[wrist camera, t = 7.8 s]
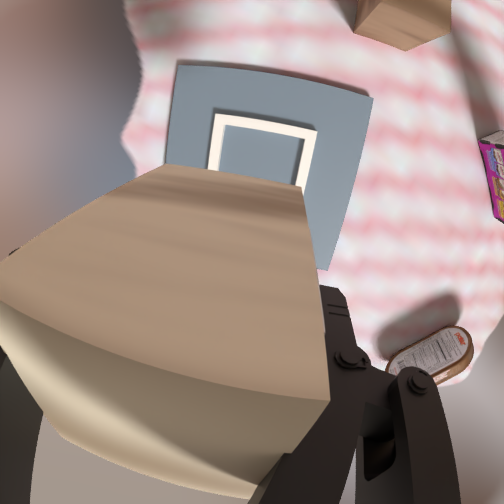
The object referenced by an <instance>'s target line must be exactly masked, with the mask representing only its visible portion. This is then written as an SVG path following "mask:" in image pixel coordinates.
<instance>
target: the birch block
mask: <svg viewBox="0 0 504 504" xmlns="http://www.w3.org/2000/svg"><path fill="white" fill-rule="evenodd" d="M0 346H1V348H2V350H3V352H4V353H6V354H7V355H8V357H9V359H10V361H11V362H12V364H13V366H14V368H15V369H16V371H17V373H18V374H19V376H20V378H21V379H22V381H23V383H24V384H25V386H26V387H27V389H28V390H29V392H30V393H31V395H32V396H33V398H34V399H35V401H36V402H37V404H38V405H39V406H40V408H41V409H42V410H43V414H44V415H45V417H46V418H47V419H48V421H49V422H50V423H51V424H52V426H53V427H54V428H55V429H56V431H57V432H58V433H59V434H60V436H61V437H62V438H64V439H66V440H68V441H69V442H71V443H73V444H75V445H77V446H79V447H81V448H83V449H85V450H87V451H89V452H91V453H93V454H95V455H97V456H100V457H102V458H104V459H106V460H109V461H111V462H113V463H116V464H118V465H121V466H123V467H125V468H128V469H131V470H134V471H136V472H139V473H142V474H144V475H147V476H150V477H153V478H156V479H160V480H163V481H166V482H169V483H173V484H177V485H180V486H184V487H188V488H192V489H196V490H200V491H205V492H210V493H215V494H220V495H225V496H232V497H238V498H245V499H250V498H251V497H252V495H253V493H254V491H255V489H256V488H257V486H258V484H259V483H260V482H261V481H262V480H263V479H264V477H265V476H266V475H267V474H268V472H269V471H270V470H271V469H272V468H273V466H274V465H275V464H276V462H277V461H278V460H279V459H280V457H281V456H282V455H283V453H292V452H293V451H294V449H295V448H296V447H297V446H298V444H299V443H300V442H301V440H302V439H303V438H304V437H305V435H306V434H307V433H308V431H309V430H310V429H311V427H312V426H313V425H314V423H315V422H316V421H317V419H318V418H319V416H320V415H321V414H322V412H323V411H324V409H325V408H326V406H327V405H328V403H329V402H330V389H329V377H328V366H327V356H326V346H325V337H324V328H323V320H322V312H321V304H320V297H319V289H318V282H317V275H316V269H315V262H314V256H313V249H312V243H311V237H310V231H309V225H308V220H307V214H306V209H305V203H304V198H303V193H302V188H301V187H300V186H295V185H291V184H286V183H281V182H276V181H271V180H266V179H261V178H255V177H250V176H245V175H239V174H233V173H227V172H221V171H215V170H209V169H202V168H196V167H189V166H181V165H174V164H164V165H162V166H160V167H158V168H156V169H154V170H152V171H150V172H147V173H145V174H143V175H141V176H139V177H137V178H135V179H133V180H131V181H129V182H127V183H126V184H124V185H122V186H120V187H118V188H116V189H114V190H112V191H110V192H109V193H107V194H105V195H103V196H101V197H100V198H98V199H96V200H94V201H92V202H91V203H89V204H87V205H86V206H84V207H82V208H80V209H79V210H77V211H75V212H74V213H72V214H70V215H69V216H67V217H65V218H64V219H62V220H61V221H59V222H58V223H56V224H54V225H53V226H51V227H50V228H48V229H47V230H45V231H44V232H42V233H41V234H39V235H38V236H37V237H35V238H33V239H32V240H30V241H29V242H28V243H26V244H25V245H23V246H22V247H20V248H19V249H18V250H16V251H15V252H14V253H12V254H11V255H9V256H8V257H7V258H5V259H4V260H3V261H2V262H0Z"/></svg>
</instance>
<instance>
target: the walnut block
mask: <svg viewBox="0 0 504 504" xmlns="http://www.w3.org/2000/svg"><path fill="white" fill-rule="evenodd" d="M450 32H451V0H358V5H357V12H356V19H355V26H354V33H355V34H358V35H361V36H365V37H368V38H371V39H374V40H376V41H379V42H382V43H385V44H388V45H390V46H393V47H395V48H398V49H400V50H403V51H405V52H406V51H408V50H410V49H412V48H415V47H417V46H419V45H422V44H424V43H426V42H428V41H431V40H433V39H436V38H438V37H441V36H443V35H446V34H448V33H450Z"/></svg>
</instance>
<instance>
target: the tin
mask: <svg viewBox="0 0 504 504" xmlns="http://www.w3.org/2000/svg"><path fill="white" fill-rule="evenodd" d="M473 354H474V347H473V343H472V338H471V336H470V334H469V333H468V332H467V331H466V330H465V329H464V328H462V327H459V326H449V327H445V328H442V329H440V330H438V331H437V332H435V333H433V334H431V335H429V336H428V337H426V338H424V339H422V340H420V341H418V342H416V343H414V344H412V345H410V346H408V347H406V348H404V349H402V350H401V351H399V352H397V353H396V354H395V355H394V356H393V357H392V358H391V359H390V361H389V362H388V364H387V366H386V369H385V372H388V373H390V374H393V375H396V376H397V374H398V373H399V372H400V370H401V369H403V368H405V367H409V366H414V367H418V368H421V369H423V370H424V371H426V372H428V374H429V375H430V376H431V377H432V378H433V379H434V381H435V383H436V385H439V384H441V383H443V382H445V381H447V380H448V379H450V378H452V377H454V376H456V375H458V374H459V373H461V372H462V371H464V370H465V369H466V368H467V367H468V365H469V364H470V362H471V360H472V358H473Z"/></svg>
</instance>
